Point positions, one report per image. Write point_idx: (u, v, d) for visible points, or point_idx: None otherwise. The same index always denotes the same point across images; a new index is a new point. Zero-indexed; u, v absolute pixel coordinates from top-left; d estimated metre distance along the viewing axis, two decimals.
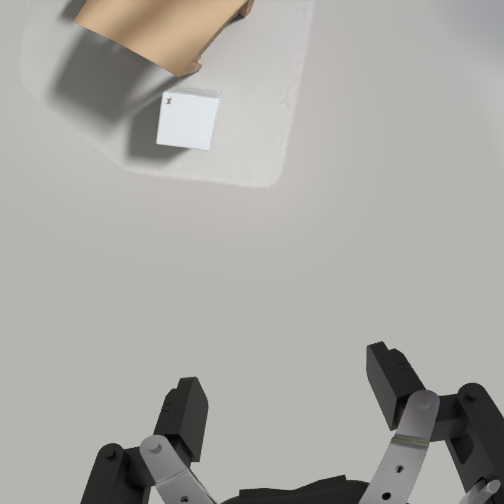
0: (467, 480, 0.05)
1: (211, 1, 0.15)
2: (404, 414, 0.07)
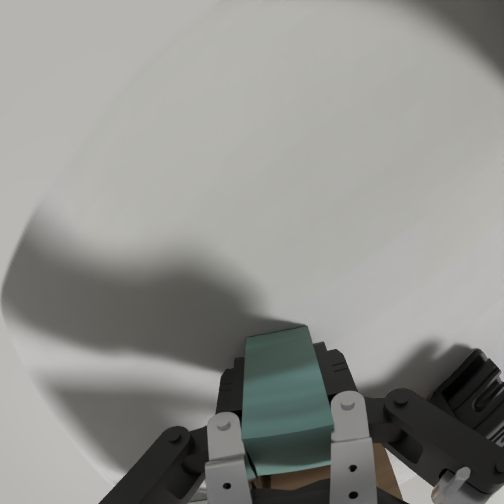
0: (428, 475, 0.06)
1: None
2: None
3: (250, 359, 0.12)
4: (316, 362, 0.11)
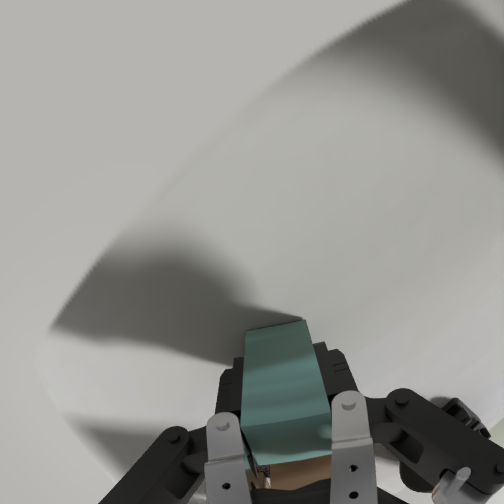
0: (428, 475, 0.06)
1: None
2: None
3: (249, 351, 0.12)
4: (313, 353, 0.11)
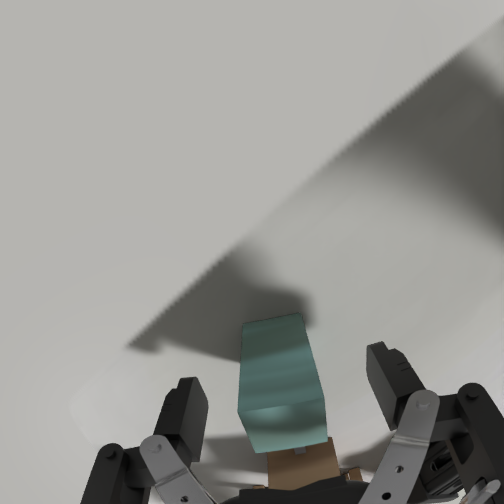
0: (467, 480, 0.05)
1: None
2: (404, 414, 0.07)
3: (246, 342, 0.13)
4: (308, 343, 0.12)
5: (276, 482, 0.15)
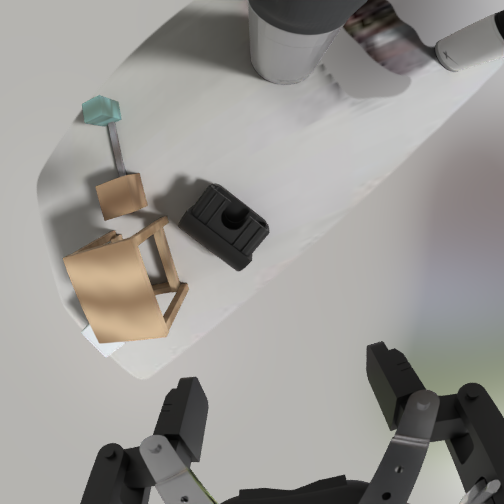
0: (467, 480, 0.05)
1: (135, 325, 0.31)
2: (404, 414, 0.07)
3: None
4: (109, 99, 0.33)
5: None
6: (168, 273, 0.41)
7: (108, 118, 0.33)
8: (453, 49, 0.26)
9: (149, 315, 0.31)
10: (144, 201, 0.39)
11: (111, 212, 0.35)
